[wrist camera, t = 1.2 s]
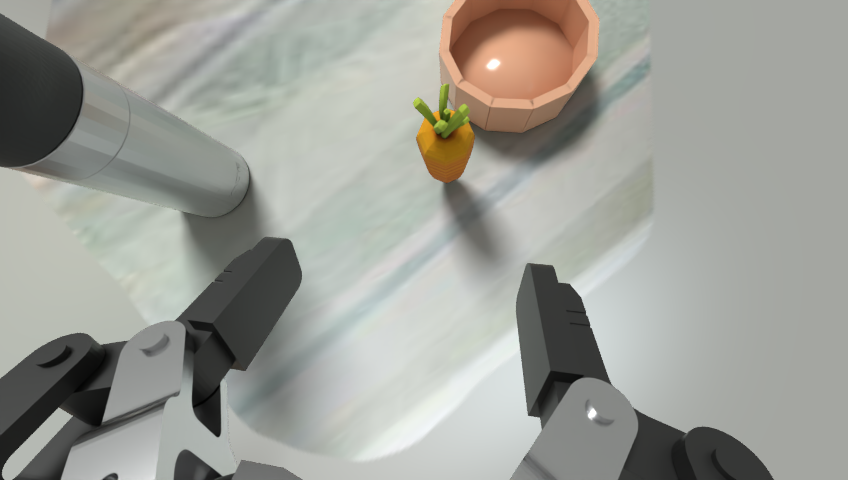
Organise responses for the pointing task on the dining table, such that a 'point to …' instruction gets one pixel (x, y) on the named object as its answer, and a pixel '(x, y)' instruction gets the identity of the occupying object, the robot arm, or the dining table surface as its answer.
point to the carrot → (445, 138)
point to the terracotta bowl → (516, 58)
